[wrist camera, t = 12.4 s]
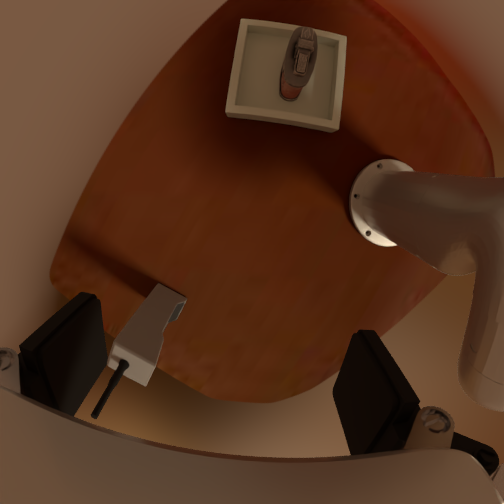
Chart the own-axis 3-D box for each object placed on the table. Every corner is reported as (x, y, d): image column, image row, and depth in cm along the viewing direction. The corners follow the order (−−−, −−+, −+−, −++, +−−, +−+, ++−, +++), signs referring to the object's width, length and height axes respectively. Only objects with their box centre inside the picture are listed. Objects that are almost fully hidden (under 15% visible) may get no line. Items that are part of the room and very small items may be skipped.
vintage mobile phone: (178, 316, 43) (121, 443, 19) (150, 301, 43) (72, 416, 18) (188, 297, 42) (129, 425, 18) (158, 281, 42) (75, 394, 18)
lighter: (285, 47, 31) (294, 13, 22) (309, 53, 31) (326, 21, 22) (274, 98, 33) (281, 75, 24) (300, 104, 34) (315, 83, 24)
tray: (339, 45, 32) (346, 36, 28) (331, 132, 36) (338, 129, 32) (242, 29, 31) (241, 18, 28) (227, 117, 35) (225, 111, 32)
